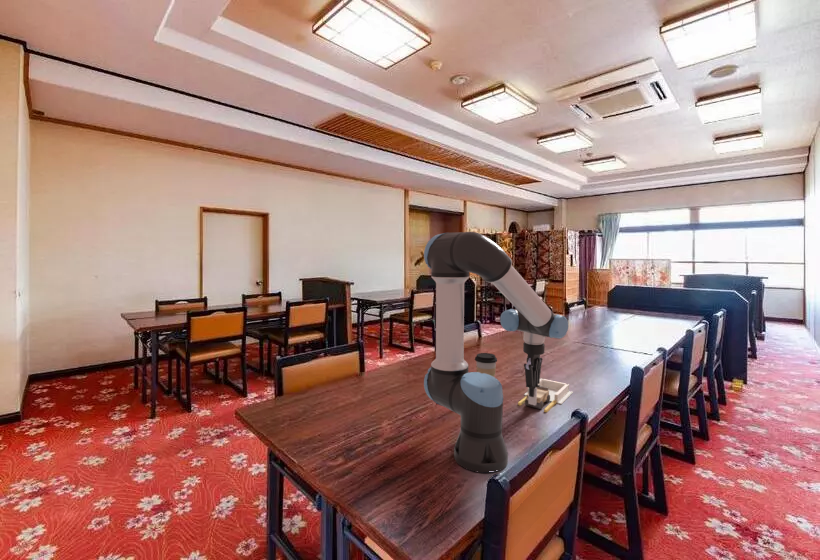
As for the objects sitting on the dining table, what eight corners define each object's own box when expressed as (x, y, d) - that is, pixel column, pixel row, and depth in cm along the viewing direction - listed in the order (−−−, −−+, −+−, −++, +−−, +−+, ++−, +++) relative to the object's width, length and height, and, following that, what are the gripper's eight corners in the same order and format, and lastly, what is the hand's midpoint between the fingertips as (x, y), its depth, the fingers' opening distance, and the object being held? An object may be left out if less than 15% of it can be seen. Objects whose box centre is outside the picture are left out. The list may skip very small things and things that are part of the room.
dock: (552, 414, 137) (552, 404, 137) (513, 403, 146) (513, 395, 146) (572, 392, 158) (573, 384, 158) (537, 384, 167) (537, 377, 167)
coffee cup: (496, 394, 156) (497, 359, 155) (473, 392, 158) (474, 357, 157) (496, 386, 165) (497, 353, 164) (474, 384, 167) (475, 351, 166)
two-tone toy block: (540, 410, 140) (540, 396, 140) (524, 406, 144) (525, 392, 144) (550, 401, 149) (550, 387, 148) (535, 397, 153) (535, 384, 152)
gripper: (537, 347, 132) (536, 412, 134) (549, 340, 142) (548, 401, 144) (517, 344, 137) (515, 407, 139) (530, 338, 147) (529, 396, 149)
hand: (532, 404), depth 141 cm, fingers closed
